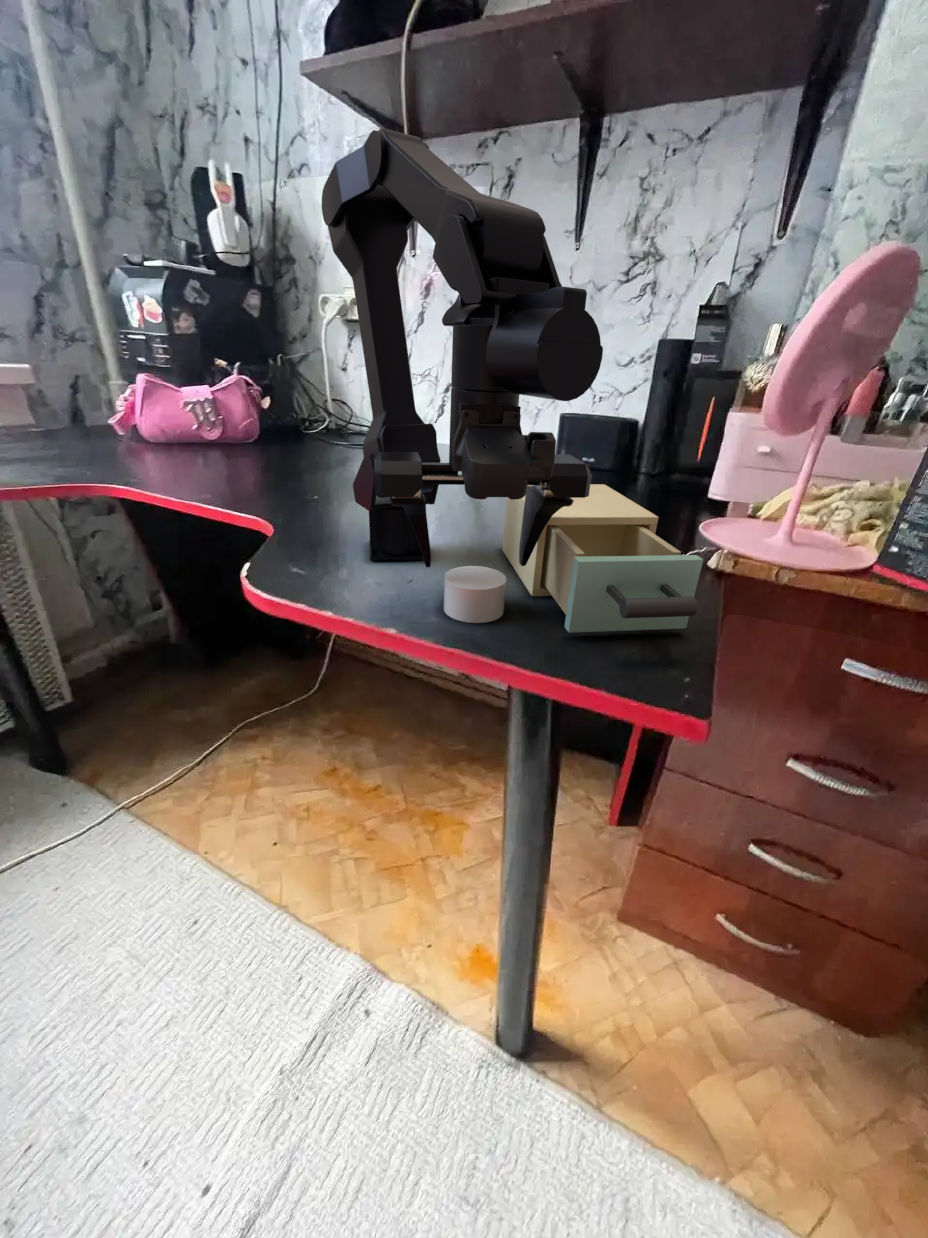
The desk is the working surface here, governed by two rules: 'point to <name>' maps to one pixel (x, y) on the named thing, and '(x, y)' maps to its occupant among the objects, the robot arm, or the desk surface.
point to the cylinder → (474, 594)
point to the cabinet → (590, 510)
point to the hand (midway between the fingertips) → (475, 565)
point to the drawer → (618, 578)
